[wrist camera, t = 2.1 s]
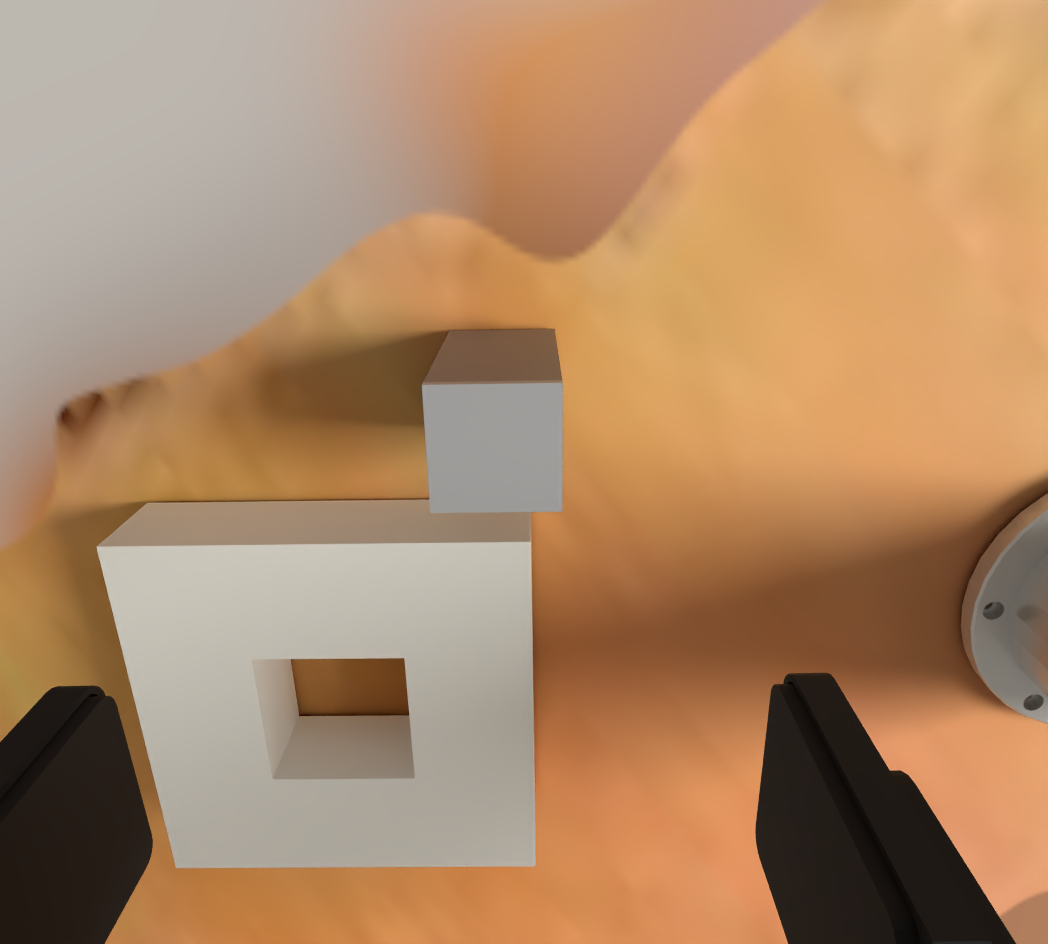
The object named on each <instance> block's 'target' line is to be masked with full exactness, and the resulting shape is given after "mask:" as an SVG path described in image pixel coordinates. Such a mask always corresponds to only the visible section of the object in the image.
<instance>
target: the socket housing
mask: <svg viewBox="0 0 1048 944" xmlns="http://www.w3.org/2000/svg"><path fill="white" fill-rule="evenodd" d="M97 552H98V556H99V560H100V564H101V568H102V572H103V576H104V580H105V584H106V588H107V592H108V596H109V600H110V604H111V608H112V612H113V616H114V620H115V624H116V628H117V632H118V636H119V640H120V644H121V648H122V652H123V656H124V660H125V664H126V668H127V672H128V676H129V680H130V684H131V688H132V692H133V696H134V700H135V704H136V709H137V713H138V717H139V721H140V725H141V729H142V733H143V737H144V741H145V745H146V749H147V753H148V757H149V761H150V765H151V769H152V773H153V777H154V781H155V785H156V789H157V793H158V797H159V801H160V805H161V809H162V813H163V817H164V821H165V825H166V829H167V833H168V837H169V841H170V845H171V849H172V853H173V857H174V861H175V865H176V868H295V867H484V866H535V761H534V692H533V624H532V556H531V512H486V513H430V500H429V499H425V500H342V501H258V502H175V503H146V504H145V505H144V506H143V507H142V508H141V509H139V510H138V511H137V512H136V513H135V514H134V515H132V516H131V517H130V518H129V519H128V520H127V521H126V522H124V523H123V524H122V525H121V526H120V527H119V528H117V529H116V530H115V531H114V532H113V533H112V534H110V535H109V536H108V537H107V538H106V539H105V540H103V541H102V542H101V543H100V544H99V545H98V546H97ZM364 658H404V660H405V672H406V683H407V694H408V706H409V715H389V716H299V710H298V704H297V697H296V691H295V684H294V678H293V671H292V665H291V659H364Z"/></svg>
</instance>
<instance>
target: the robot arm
mask: <svg viewBox="0 0 1048 944" xmlns="http://www.w3.org/2000/svg"><path fill="white" fill-rule="evenodd" d="M961 633H962V638H963V644H964V649H965V652H966V654H967V657H968V659H969V661H970V663H971V665H972V667H973V670H974V671H975V672H976V673H977V675H978V676H979V677H980V678H981V680H982V681H983V682H984V683H985V685H986V686H987V687H988V688H989V689H990V690H991V691H992V692H993V693H994V694H995V695H996V696H997V697H998V698H999V699H1000V700H1001V701H1002V702H1003V703H1004V704H1005V705H1007V706H1008V707H1010V708H1011V709H1013V710H1014V711H1016V712H1018V713H1019V714H1021V715H1023V716H1025V717H1028V718H1031V719H1034V720H1037V721H1040V722H1043V723H1045V724H1048V493H1047V494H1045V495H1044V496H1043V497H1041V498H1040V499H1039V500H1037V501H1036V502H1034V503H1033V504H1032V505H1030V506H1029V507H1027V508H1026V509H1025V510H1023V511H1022V512H1021V513H1019V514H1018V515H1017V516H1016V517H1015V518H1014V519H1013V520H1012V521H1011V522H1010V523H1009V524H1008V525H1007V526H1006V527H1005V528H1004V529H1003V530H1002V531H1001V532H1000V533H999V534H998V535H997V537H996V538H995V539H994V541H993V542H992V543H991V545H990V546H989V547H988V549H987V550H986V551H985V553H984V554H983V555H982V557H981V558H980V560H979V562H978V564H977V566H976V568H975V570H974V572H973V574H972V576H971V578H970V580H969V583H968V587H967V590H966V594H965V597H964V601H963V604H962V617H961ZM756 844H757V849H758V854H759V858H760V861H761V864H762V867H763V870H764V873H765V876H766V879H767V881H768V884H769V887H770V890H771V893H772V896H773V899H774V902H775V905H776V908H777V911H778V914H779V917H780V920H781V923H782V926H783V929H784V932H785V935H786V938H787V941H788V944H1016V943H1015V941H1014V940H1013V938H1012V937H1011V935H1010V933H1009V932H1008V930H1007V929H1006V927H1005V926H1004V924H1003V922H1002V921H1001V919H1000V918H999V916H998V914H997V913H996V911H995V910H994V908H993V906H992V905H991V903H990V902H989V900H988V898H987V897H986V895H985V894H984V892H983V891H982V889H981V887H980V886H979V884H978V883H977V881H976V879H975V878H974V876H973V875H972V873H971V872H970V870H969V868H968V867H967V865H966V864H965V862H964V860H963V859H962V857H961V856H960V854H959V853H958V851H957V849H956V848H955V846H954V845H953V843H952V841H951V840H950V838H949V837H948V835H947V834H946V832H945V830H944V829H943V827H942V826H941V824H940V822H939V821H938V819H937V818H936V816H935V814H934V813H933V811H932V810H931V808H930V807H929V805H928V803H927V802H926V800H925V799H924V797H923V795H922V794H921V792H920V791H919V789H918V788H917V786H916V784H915V783H914V782H913V781H912V779H911V778H910V777H909V776H908V775H907V774H906V773H904V772H902V771H890V770H889V769H888V767H887V765H886V764H885V762H884V760H883V759H882V757H881V755H880V754H879V752H878V750H877V749H876V747H875V745H874V744H873V742H872V741H871V739H870V737H869V736H868V734H867V732H866V731H865V729H864V727H863V726H862V724H861V722H860V721H859V719H858V717H857V716H856V714H855V712H854V711H853V709H852V707H851V706H850V704H849V702H848V701H847V699H846V697H845V696H844V694H843V692H842V691H841V689H840V687H839V686H838V684H837V682H836V681H835V679H834V678H833V677H832V675H831V674H828V673H796V674H788V675H786V677H785V679H784V684H775V685H773V687H772V690H771V696H770V705H769V714H768V723H767V732H766V740H765V749H764V758H763V767H762V776H761V785H760V793H759V802H758V811H757V820H756ZM152 847H153V839H152V834H151V830H150V826H149V823H148V819H147V815H146V811H145V808H144V804H143V800H142V797H141V793H140V789H139V786H138V782H137V778H136V775H135V771H134V767H133V764H132V760H131V756H130V753H129V749H128V745H127V741H126V738H125V734H124V730H123V727H122V723H121V719H120V716H119V712H118V708H117V705H116V702H115V700H114V699H113V698H112V697H110V696H105V693H104V691H103V690H102V689H101V688H100V687H97V686H58V687H54V688H51V689H50V690H49V691H48V692H46V693H45V694H44V696H43V697H42V698H41V699H40V700H39V701H38V702H37V703H36V704H35V705H34V706H33V707H32V709H31V710H30V711H29V712H28V713H27V714H26V715H25V716H24V717H23V718H22V719H21V720H20V721H19V723H18V724H17V725H16V726H15V727H14V728H13V729H12V730H11V731H10V732H9V733H8V734H7V735H6V737H5V738H4V739H3V740H2V741H1V742H0V944H105V942H106V940H107V938H108V936H109V934H110V933H111V931H112V929H113V927H114V925H115V924H116V922H117V920H118V918H119V916H120V914H121V913H122V911H123V909H124V907H125V905H126V904H127V902H128V900H129V898H130V896H131V894H132V893H133V891H134V889H135V887H136V885H137V884H138V882H139V880H140V878H141V876H142V874H143V873H144V871H145V869H146V867H147V865H148V863H149V860H150V857H151V853H152Z"/></svg>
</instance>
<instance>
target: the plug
mask: <svg viewBox="0 0 1048 944" xmlns="http://www.w3.org/2000/svg"><path fill="white" fill-rule="evenodd" d="M422 397H423V412H424V426H425V441H426V456H427V471H428V485H429V500H430V513H486V512H562V436H563V382H562V376H561V369H560V362H559V356H558V349H557V343H556V336H555V329H511V330H450V331H449V333H448V335H447V337H446V338H445V340H444V342H443V344H442V346H441V348H440V350H439V352H438V354H437V356H436V358H435V360H434V362H433V364H432V366H431V368H430V370H429V372H428V374H427V376H426V377H425V379H424V381H423V383H422Z"/></svg>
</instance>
